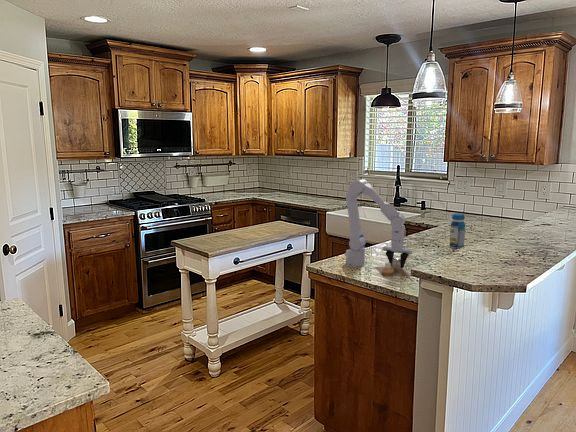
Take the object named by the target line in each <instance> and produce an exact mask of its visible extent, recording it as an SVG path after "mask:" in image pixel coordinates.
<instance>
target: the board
mask: <svg viewBox="0 0 576 432" xmlns="http://www.w3.org/2000/svg"><path fill="white" fill-rule="evenodd" d="M374 268H375V269H376V270H377V272H378V273H380V275H381V276H382V277H383V278H390V277H391V278H393V277H398V278H399V277H411V276H412V274H410V273H409V272H408V271H407V270H405V268H402V269H401V270H394V272H393V274H392V275H386V274H383V273H382V268H385V265H383V266H374Z"/></svg>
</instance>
